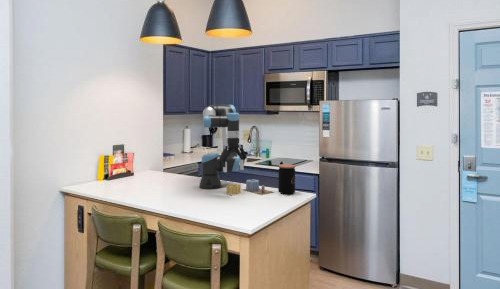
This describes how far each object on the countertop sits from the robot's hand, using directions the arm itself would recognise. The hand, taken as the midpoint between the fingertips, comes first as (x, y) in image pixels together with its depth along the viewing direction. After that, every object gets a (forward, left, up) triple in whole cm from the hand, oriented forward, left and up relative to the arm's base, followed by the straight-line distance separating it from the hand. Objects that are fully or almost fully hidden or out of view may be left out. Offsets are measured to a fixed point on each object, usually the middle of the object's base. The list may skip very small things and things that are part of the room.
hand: (233, 170), depth 231 cm
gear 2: (+1, +15, -14) cm, 21 cm away
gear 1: (0, 0, -15) cm, 15 cm away
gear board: (+6, +15, -15) cm, 22 cm away
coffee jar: (+20, +28, -15) cm, 38 cm away
